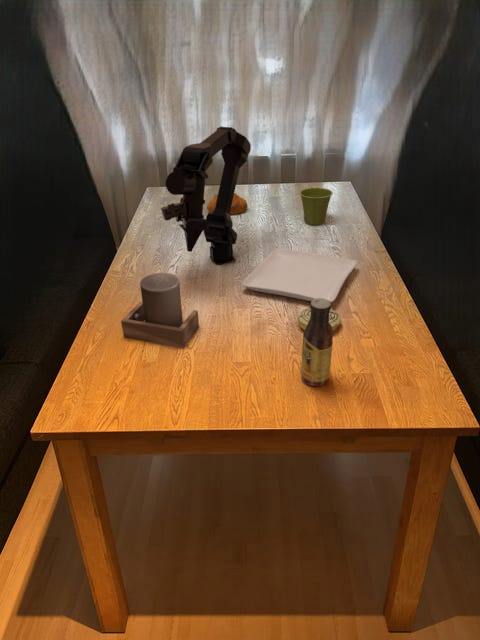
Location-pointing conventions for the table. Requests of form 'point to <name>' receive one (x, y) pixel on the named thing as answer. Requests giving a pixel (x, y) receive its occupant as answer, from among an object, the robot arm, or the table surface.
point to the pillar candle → (162, 299)
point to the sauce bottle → (317, 344)
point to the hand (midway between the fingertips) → (189, 251)
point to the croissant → (237, 206)
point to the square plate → (300, 275)
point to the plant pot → (315, 204)
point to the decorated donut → (306, 314)
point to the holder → (158, 329)
